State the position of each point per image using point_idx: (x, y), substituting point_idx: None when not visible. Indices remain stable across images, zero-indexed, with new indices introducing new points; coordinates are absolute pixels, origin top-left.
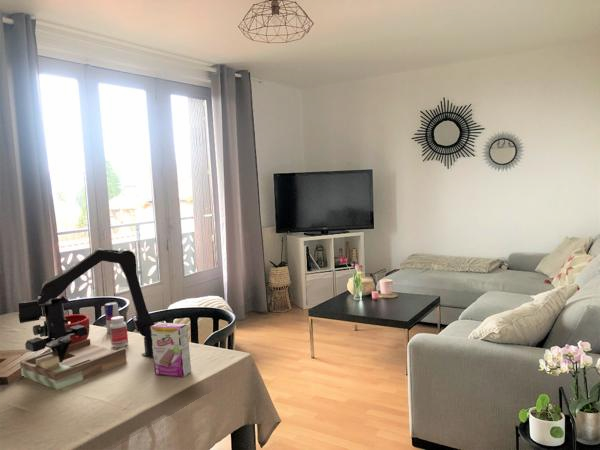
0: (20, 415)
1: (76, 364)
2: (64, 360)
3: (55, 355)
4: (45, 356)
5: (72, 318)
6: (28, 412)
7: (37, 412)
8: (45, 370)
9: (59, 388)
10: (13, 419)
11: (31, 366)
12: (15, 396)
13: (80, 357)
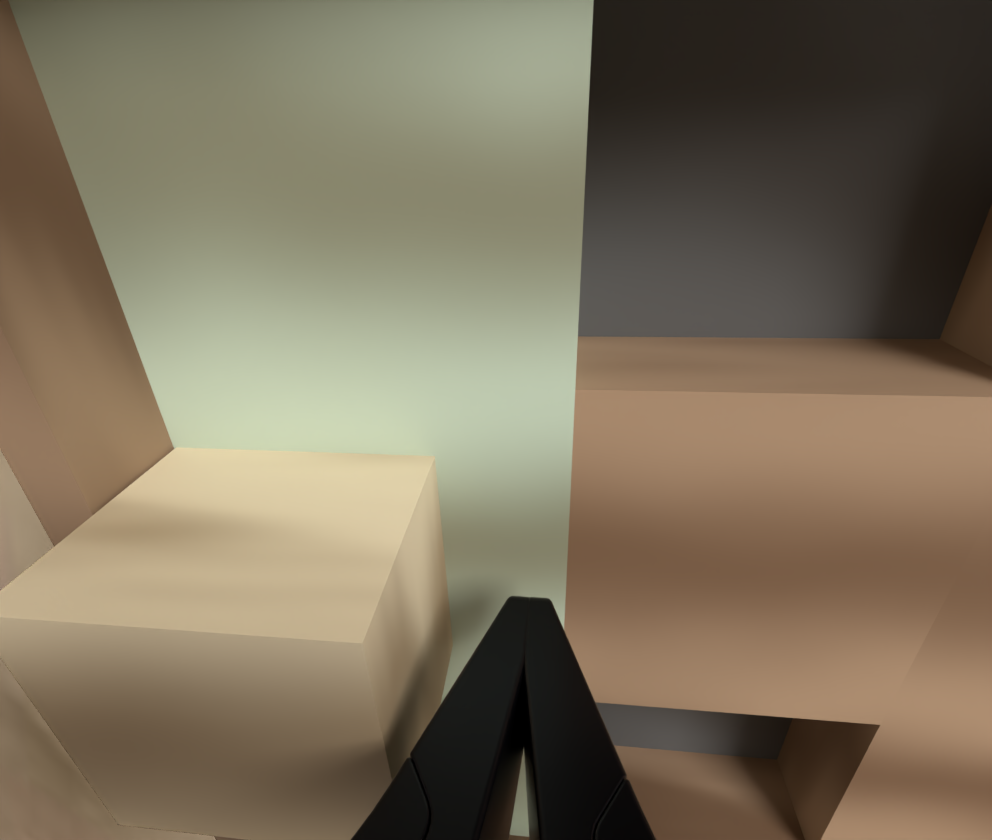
0: (50, 796)
1: (668, 703)
2: (718, 427)
3: (435, 726)
4: (213, 656)
5: None
6: (94, 804)
7: (139, 834)
8: None
9: None
10: (15, 800)
11: (16, 446)
12: (5, 561)
13: (948, 560)
